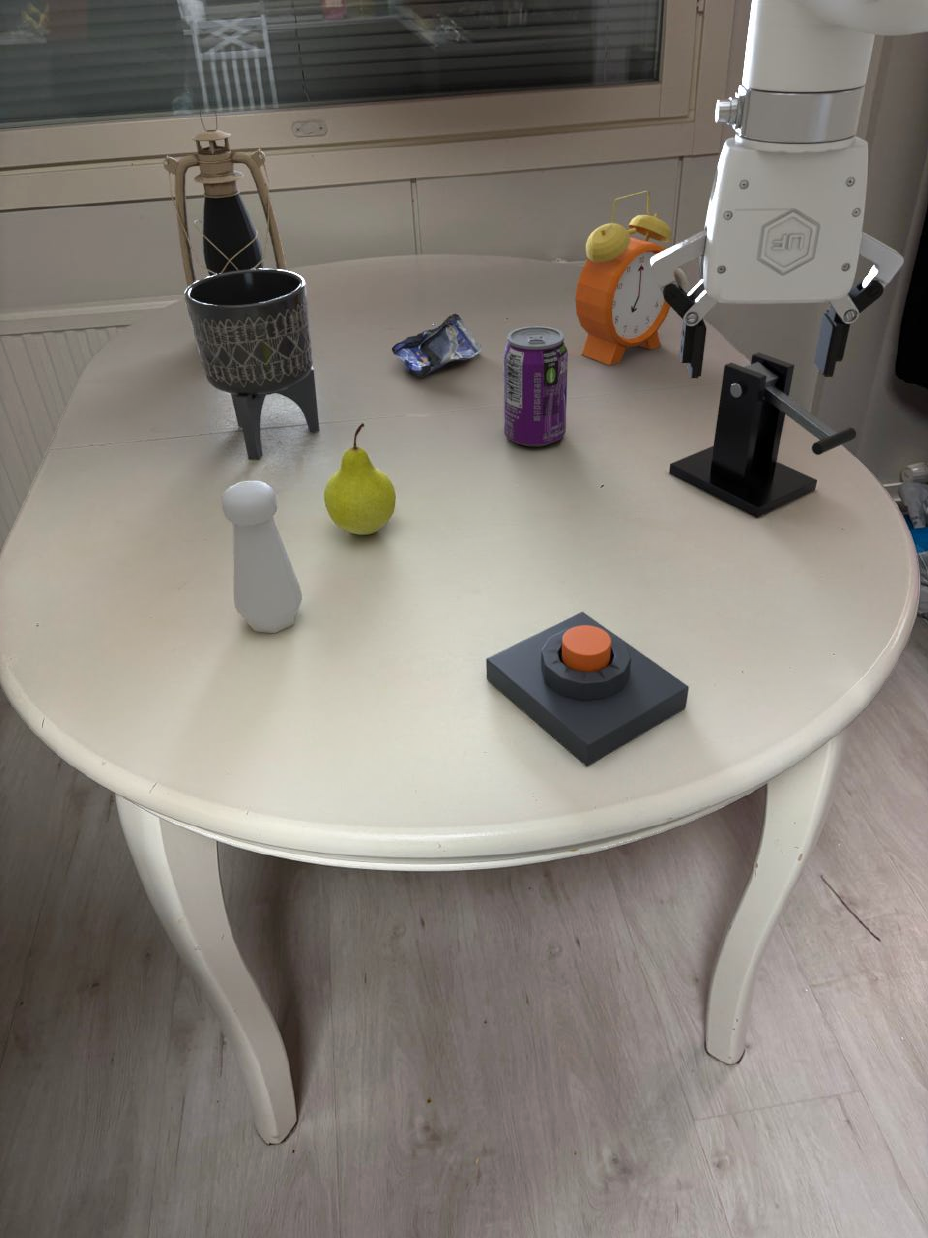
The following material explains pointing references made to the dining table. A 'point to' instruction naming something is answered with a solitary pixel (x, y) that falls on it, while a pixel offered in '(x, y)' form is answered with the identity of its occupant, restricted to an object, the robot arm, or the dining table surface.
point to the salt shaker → (260, 559)
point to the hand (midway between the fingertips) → (757, 370)
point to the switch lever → (802, 415)
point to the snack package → (437, 347)
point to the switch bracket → (747, 445)
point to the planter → (255, 342)
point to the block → (586, 691)
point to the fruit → (359, 493)
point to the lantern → (223, 208)
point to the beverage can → (535, 385)
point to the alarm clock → (621, 288)
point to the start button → (586, 648)
